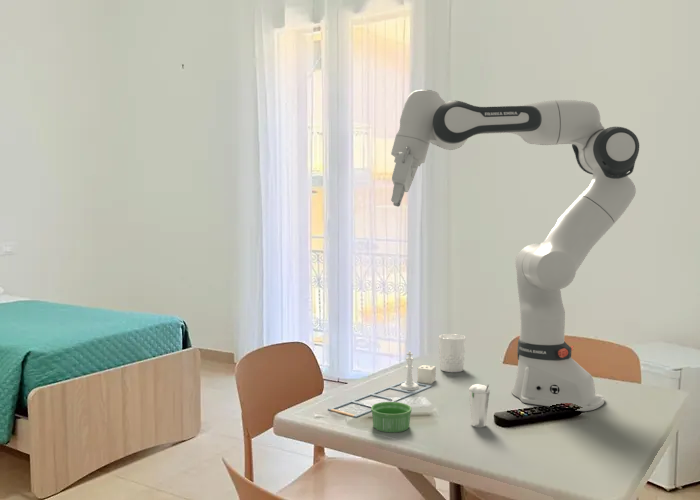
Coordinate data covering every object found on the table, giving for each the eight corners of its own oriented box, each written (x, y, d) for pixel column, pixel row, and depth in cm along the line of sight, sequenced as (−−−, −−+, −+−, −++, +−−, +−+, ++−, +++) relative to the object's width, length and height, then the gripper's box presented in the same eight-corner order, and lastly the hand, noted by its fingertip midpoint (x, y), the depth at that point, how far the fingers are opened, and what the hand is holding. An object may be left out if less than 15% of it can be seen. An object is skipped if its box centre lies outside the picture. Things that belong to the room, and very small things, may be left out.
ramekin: (419, 428, 144) (420, 409, 144) (387, 437, 139) (387, 416, 139) (394, 417, 151) (394, 399, 151) (363, 425, 146) (363, 405, 146)
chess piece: (412, 391, 172) (412, 354, 171) (396, 388, 175) (397, 351, 174) (422, 387, 176) (422, 350, 175) (406, 384, 179) (406, 348, 178)
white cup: (438, 372, 192) (438, 338, 191) (438, 365, 199) (439, 333, 199) (465, 373, 190) (465, 339, 190) (465, 366, 198) (465, 334, 197)
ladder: (431, 386, 176) (431, 385, 176) (356, 417, 151) (356, 416, 151) (405, 381, 182) (405, 380, 182) (328, 410, 156) (328, 408, 156)
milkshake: (479, 431, 142) (480, 385, 142) (464, 423, 147) (464, 380, 146) (495, 427, 144) (496, 383, 144) (480, 420, 149) (481, 377, 148)
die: (435, 380, 183) (435, 366, 183) (431, 384, 180) (431, 369, 179) (421, 378, 185) (422, 364, 185) (417, 382, 181) (417, 368, 181)
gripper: (420, 147, 156) (405, 203, 156) (421, 161, 176) (408, 210, 177) (395, 141, 157) (380, 196, 157) (399, 155, 177) (385, 205, 177)
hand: (395, 204), depth 167 cm, fingers open, 8 cm apart
